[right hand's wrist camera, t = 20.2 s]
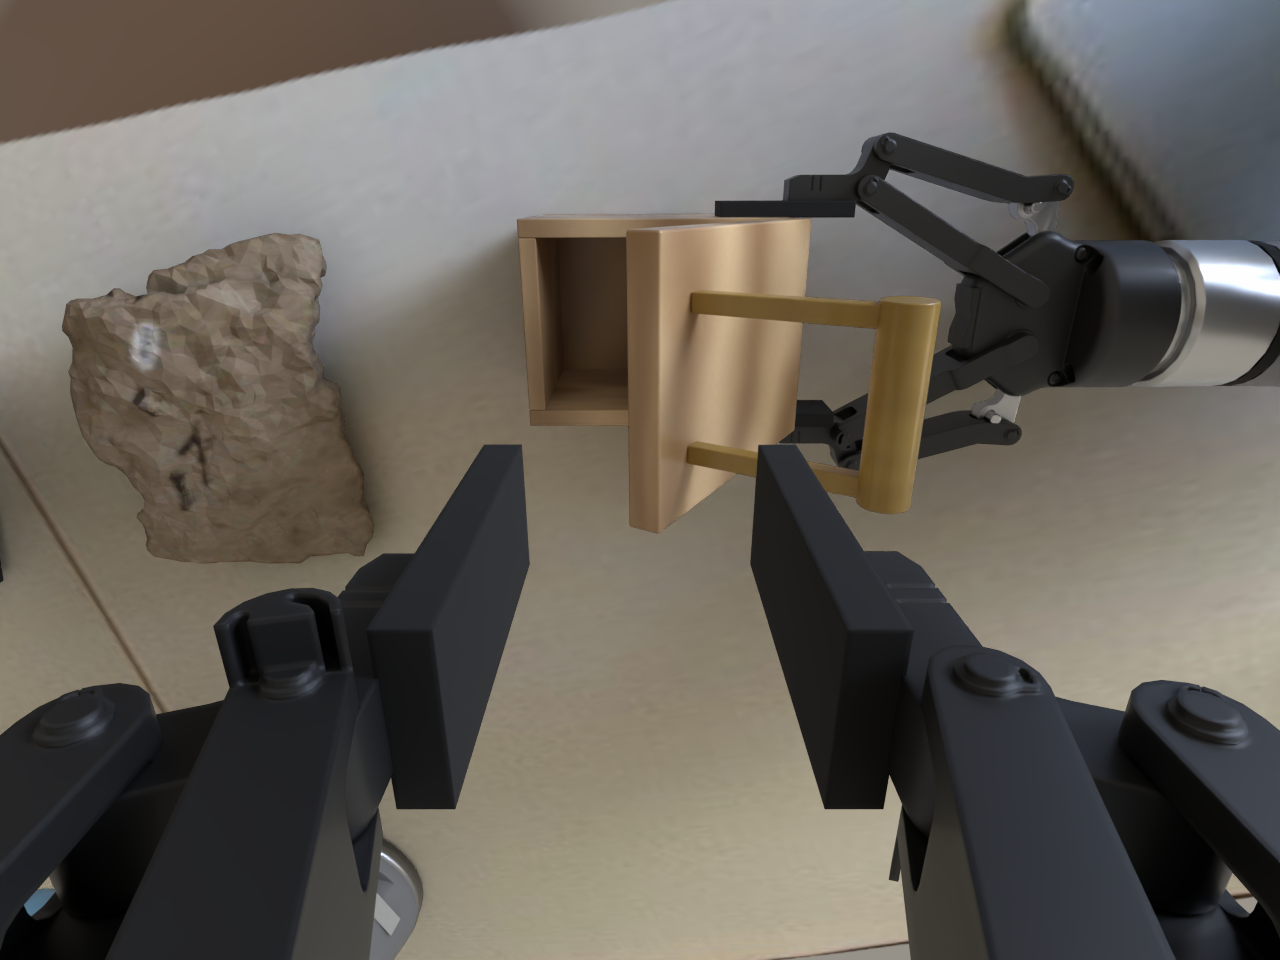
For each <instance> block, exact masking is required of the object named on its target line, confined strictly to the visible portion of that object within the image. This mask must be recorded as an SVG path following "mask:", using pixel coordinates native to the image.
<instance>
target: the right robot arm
mask: <svg viewBox="0 0 1280 960" xmlns="http://www.w3.org/2000/svg"><path fill="white" fill-rule="evenodd" d="M529 564H530V563H529V548H528V533H527V518H526V502H525V487H524V472H523V457H522V445H484V446H483V447H482V449H481V450H480V452H479V454H478V455H477V457H476V458H475V460H474V461H473V463H472V465H471V466H470V468H469V469H468V471H467V472H466V474H465V476H464V477H463V479H462V480H461V482H460V483H459V485H458V487H457V488H456V490H455V491H454V493H453V494H452V496H451V498H450V499H449V501H448V502H447V504H446V505H445V507H444V509H443V510H442V512H441V513H440V515H439V516H438V518H437V520H436V521H435V523H434V524H433V526H432V527H431V529H430V530H429V532H428V534H427V535H426V537H425V538H424V540H423V541H422V543H421V545H420V546H419V548H418V549H417V551H416V552H415V554H382V555H380V556H379V557H377V558H376V559H374V560H373V561H371V562H369V563H368V564H366V565H365V566H363V567H362V568H360V569H359V570H358V571H357V572H356V574H355V575H354V576H353V578H352V579H351V580H350V582H349V583H348V584H347V586H346V587H345V588H346V589H345V591H342V592H341V593H340V595H339V596H338V597H336V596H335V595H333V594H332V593H331V592H328V591H324V590H319V589H315V588H296V589H287V590H282V591H276V592H271V593H267V594H264V595H261V596H259V597H256V598H253V599H251V600H248V601H245V602H243V603H241V604H240V605H238V606H236V607H235V608H233V609H231V610H230V611H228V612H226V613H225V614H224V615H223V616H222V617H221V618H220V619H219V621H218V622H217V623H216V624H215V625H214V626H213V627H214V630H215V634H216V638H217V642H218V646H219V649H220V653H221V657H222V661H223V664H224V668H225V672H226V676H227V679H228V683H229V687H230V688H229V690H228V693H227V695H226V697H225V699H224V700H222V701H218V702H215V703H211V704H206V705H201V706H196V707H191V708H186V709H181V710H176V711H171V712H167V713H162V714H157V715H156V714H155V710H154V707H153V704H152V701H151V698H150V695H149V693H147V692H146V691H145V690H143V689H142V688H141V687H139V686H136V685H129V684H122V683H117V684H108V685H99V686H92V687H87V688H82V690H76V691H73V692H70V693H67V694H64V695H62V696H61V697H59V698H57V699H55V700H53V701H51V702H48V703H46V704H44V705H42V706H40V707H38V708H36V709H35V710H34V711H32V712H31V713H29V714H28V715H26V716H25V717H23V718H22V719H20V720H19V721H17V722H16V723H14V724H13V725H12V726H11V727H10V728H9V729H7V730H6V731H5V732H4V733H3V734H1V735H0V960H394V958H395V957H396V956H397V954H398V953H399V951H400V950H401V948H402V947H403V945H404V944H405V942H406V941H407V939H408V938H409V936H410V934H411V933H412V931H413V929H414V927H415V925H416V921H417V918H418V915H419V912H420V909H421V905H422V900H423V889H422V884H421V880H420V877H419V875H418V873H417V871H416V869H415V868H414V866H413V865H412V863H411V862H410V861H409V860H408V859H407V857H406V856H405V855H404V854H403V853H401V852H400V851H399V850H398V849H397V848H395V847H394V846H393V845H391V844H390V843H388V842H387V841H385V840H383V832H382V826H381V819H380V814H379V809H378V806H379V804H380V801H381V799H382V797H383V794H384V792H385V790H386V787H387V785H388V783H389V781H390V778H391V779H392V785H393V791H394V796H395V802H396V808H397V809H455V808H456V805H457V802H458V798H459V795H460V792H461V789H462V785H463V782H464V779H465V775H466V772H467V769H468V765H469V762H470V759H471V756H472V752H473V749H474V746H475V742H476V739H477V736H478V732H479V729H480V726H481V723H482V719H483V716H484V713H485V709H486V706H487V703H488V700H489V696H490V693H491V690H492V686H493V683H494V680H495V676H496V673H497V670H498V667H499V663H500V660H501V657H502V653H503V650H504V647H505V643H506V640H507V637H508V634H509V630H510V627H511V624H512V620H513V617H514V614H515V611H516V607H517V604H518V601H519V597H520V594H521V591H522V587H523V584H524V581H525V578H526V574H527V571H528V568H529ZM750 564H751V568H752V571H753V574H754V577H755V581H756V584H757V587H758V591H759V594H760V597H761V601H762V604H763V607H764V610H765V614H766V617H767V620H768V624H769V627H770V630H771V634H772V637H773V640H774V643H775V647H776V650H777V653H778V657H779V660H780V663H781V667H782V670H783V673H784V676H785V680H786V683H787V686H788V690H789V693H790V696H791V699H792V703H793V706H794V709H795V713H796V716H797V719H798V723H799V726H800V729H801V732H802V736H803V739H804V742H805V746H806V749H807V752H808V756H809V759H810V762H811V765H812V769H813V772H814V775H815V779H816V782H817V785H818V788H819V792H820V795H821V798H822V802H823V805H824V808H825V809H883V808H884V802H885V797H886V791H887V785H888V779H889V775H890V777H891V779H892V782H893V784H894V786H895V788H896V791H897V793H898V795H899V798H900V800H901V802H902V809H901V814H900V819H899V825H898V830H897V836H896V841H895V847H894V852H893V858H892V863H891V869H890V876H889V880H893V881H897V882H898V880H899V875H900V870H901V875H902V884H903V893H904V902H905V911H906V920H907V929H908V938H909V947H910V956H911V960H1280V731H1279V730H1278V729H1277V728H1276V727H1275V726H1273V725H1272V724H1271V723H1270V722H1269V721H1267V720H1266V719H1265V718H1263V717H1262V716H1260V715H1259V714H1257V713H1256V712H1254V711H1253V710H1251V709H1250V708H1248V707H1247V706H1245V705H1244V704H1242V703H1240V702H1238V701H1235V700H1233V699H1231V698H1229V697H1227V696H1225V695H1222V694H1221V693H1220V692H1218V691H1215V690H1212V689H1209V688H1206V687H1200V686H1199V685H1195V684H1190V683H1183V682H1174V681H1165V680H1158V681H1151V682H1144V683H1141V684H1140V685H1139V686H1138V687H1136V688H1135V689H1134V690H1132V692H1131V695H1130V698H1129V701H1128V704H1127V707H1126V711H1125V712H1124V711H1119V710H1114V709H1109V708H1104V707H1099V706H1094V705H1089V704H1084V703H1079V702H1074V701H1070V700H1066V699H1062V698H1058V697H1055V696H1054V693H1053V691H1052V689H1051V687H1050V686H1049V684H1048V683H1047V682H1046V680H1045V679H1044V678H1043V677H1042V675H1041V674H1040V673H1039V672H1038V671H1036V670H1035V669H1034V668H1032V667H1031V666H1029V665H1028V664H1026V663H1025V662H1024V661H1022V660H1020V659H1018V658H1015V657H1013V656H1011V655H1008V654H1006V653H1004V652H1002V651H999V650H994V649H990V648H986V647H983V646H982V645H981V644H980V643H979V641H978V640H977V639H976V637H975V636H974V635H973V633H972V632H971V631H970V630H969V628H968V627H967V626H966V624H965V623H964V622H963V620H962V619H961V618H960V616H959V615H958V614H957V613H956V611H955V610H954V609H953V607H952V606H951V605H950V603H947V602H946V598H945V597H944V596H943V594H942V593H941V592H940V590H939V589H938V588H935V584H934V583H933V581H932V580H931V579H930V577H929V576H928V575H927V573H926V572H925V571H924V570H923V568H922V567H921V566H919V565H918V564H916V563H915V562H913V561H911V560H910V559H908V558H907V557H905V556H903V555H902V554H900V553H899V552H897V551H863V549H862V548H861V546H860V545H859V543H858V541H857V540H856V538H855V537H854V535H853V534H852V532H851V530H850V529H849V527H848V526H847V524H846V523H845V521H844V519H843V518H842V516H841V515H840V513H839V512H838V510H837V508H836V507H835V505H834V504H833V502H832V501H831V499H830V497H829V496H828V494H827V493H826V491H825V490H824V488H823V487H822V485H821V483H820V482H819V480H818V479H817V477H816V476H815V474H814V472H813V471H812V469H811V468H810V466H809V465H808V463H807V461H806V460H805V458H804V457H803V455H802V454H801V452H800V450H799V449H798V447H797V446H796V445H758V457H757V473H756V488H755V503H754V518H753V533H752V548H751V563H750ZM1232 873H1233V874H1234V875H1235V876H1236V877H1237V878H1238V879H1239V880H1240V882H1241V883H1242V884H1243V885H1244V886H1245V887H1246V888H1247V890H1248V891H1249V892H1250V893H1251V894H1252V895H1253V896H1254V897H1255V899H1256V900H1257V901H1258V902H1257V904H1256V906H1255V909H1254V911H1253V912H1252V913H1251V914H1250V913H1248V912H1247V911H1246V910H1245V909H1244V908H1242V907H1241V906H1240V905H1239V904H1238V903H1237V902H1236V901H1235V899H1234V898H1233V897H1232V896H1231V895H1230V893H1229V892H1228V891H1227V890H1226V887H1227V884H1228V882H1229V880H1230V877H1231V875H1232ZM48 877H50V880H51V882H52V884H53V886H54V889H49V888H44V889H39V890H37V889H38V888H39V887H40V886H41V885H42V883H43V882H44V881H45V880H46V879H47V878H48Z"/></svg>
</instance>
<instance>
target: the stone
mask: <svg viewBox="0 0 1280 960" xmlns="http://www.w3.org/2000/svg"><path fill="white" fill-rule="evenodd" d="M326 267H327V266H326V262H325V259H324V257H323V255H322V248H321V245H320V242H319V240H318V239H314V238H311V237H308V236H304V235H301V234H295V235H285V234H279V233H274V234H268V235H264V236H260V237H256V238H252V239H248V240H244V241H239V242H236V243H233V244H230V245H228V246H226V247H225V248H223V249H221V250H207V251H206V252H204V253H203V254H200V255H196V256H192V257H191V258H190V259H189V260H187V261H186V262H185V263H182V264H179V265H176V266H174V267H171V268H169V269H162V270H154V271H153V272H152V273H151V274H150V275H149V277H148V282H147V287H146V289H147V292H148V293H147V295H141V296H133V295H130V294H128V293H125V292H124V291H122V290H121V289H113V290H112V291H111V292H110V293H108V294H107V295H105V296H101V297H98V298H94V299H76V300H71V301H70V302H68V303H67V304H66V310H65V315H64V320H63V325H62V331H63V332H64V333H65V334H66V335H67V336H68V337H69V339H70V342H71V344H72V347H73V361H72V365H71V367H70V370H69V374H70V377H71V388H70V392H71V397H72V402H73V406H74V410H75V414H76V417H77V421H78V424H79V427H80V430H81V432H82V435H83V437H84V439H85V440H86V441H87V443H88V445H89V446H90V448H91V449H92V451H93V452H94V454H95V455H96V456H97V457H98V458H99V459H100V460H101V461H103V462H104V463H106V464H108V465H112V466H115V467H117V468H118V469H119V470H121V471H122V472H123V473H124V474H125V475H126V476H127V477H128V479H129V480H130V482H131V483H132V485H133V486H134V487H135V488H136V489H137V491H138V492H140V493H141V495H142V496H143V498H144V500H145V505H144V508H143V509H142V510H141V511H140V512H139V513H138V514H137V518H138V520H139V521H140V522H141V523H142V524H143V526H144V528H145V533H146V536H147V543H146V546H147V550H148V551H149V552H150V553H151V554H152V555H153V556H155V557H160V558H166V559H172V560H177V561H181V562H196V563H216V562H241V561H252V562H261V563H301V562H303V561H304V560H306V559H307V558H309V557H310V556H320V555H331V554H336V553H350V554H352V555H354V556H364V553H365V549H366V545H367V543H368V542H369V541H370V540H371V539H372V537H373V533H374V532H373V528H374V524H373V521H372V519H371V516H370V512H369V510H368V507H367V505H366V503H365V502H364V500H363V499H362V495H363V493H364V488H363V476H364V474H363V471H362V469H361V467H360V465H359V463H358V462H357V461H356V459H355V458H354V454H353V451H352V450H351V448H350V447H349V444H348V442H347V440H346V439H345V436H344V428H345V422H344V419H343V417H342V414H341V393H340V389H339V386H338V385H337V384H336V383H333V382H330V381H328V380H325V379H324V378H323V371H324V368H323V365H322V363H321V361H320V360H319V356H318V355H317V354H316V353H315V351H314V349H313V345H312V341H313V338H314V336H315V331H314V328H315V326H316V324H317V323H318V322H319V315H320V305H319V302H318V296H319V295H320V292H321V288H322V282H321V279H320V278H321V277H323V276H325V273H326Z"/></svg>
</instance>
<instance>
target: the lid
mask: <svg viewBox="0 0 1280 960" xmlns="http://www.w3.org/2000/svg"><path fill="white" fill-rule="evenodd" d="M810 231H811V219H810V218H783V219H769V220H755V221H740V222H726V223H711V224H697V225H683V226H668V227H654V228H640V229H629V230H627V232H626V248H627V338H628V428H629V518H630V526H631V527H634V528H638V529H642V530H646V531H649V532H653V533H660V532H661V531H663V530H664V529H665V528H667V527H668V526H669V525H671V524H672V523H673V522H674V521H676V520H677V519H678V518H680V517H681V516H682V515H684V514H685V513H686V512H688V511H689V510H690V509H692V508H693V507H694V506H695V505H697V504H698V503H699V502H701V501H702V500H703V499H705V498H706V497H707V496H709V495H710V494H711V493H713V492H714V491H715V490H716V489H718V488H719V487H720V486H722V485H723V484H724V483H726V482H727V481H728V480H730V479H731V478H732V477H734V476H735V475H736V474H742V475H747V476H752V477H756V473H757V457H758V445H776V444H777V443H778V442H779V441H781V440H782V439H783V438H785V437H786V436H787V435H789V434H790V433H791V432H793V431H794V428H795V416H796V403H797V391H798V379H799V366H800V354H801V342H802V329H803V323H811V324H823V325H835V326H847V327H859V328H871V329H876V335H875V343H874V352H873V360H872V368H871V377H870V385H869V393H868V402H867V410H866V418H865V427H864V435H863V443H862V451H861V460H860V468H859V471H857V470H852V469H846V468H841V467H835V466H830V465H825V464H819V463H814V462H808V461H807V463H808V465H809V466H810V468H811V469H812V471H813V472H814V474H815V476H816V477H817V479H818V480H819V482H820V483H821V485H822V487H823V488H824V490H825V491H826V492H831V493H836V494H841V495H846V496H851V497H856V502H857V504H858V505H859V506H860V507H862V508H864V509H866V510H869V511H872V512H876V513H882V514H899V513H903V512H906V511H907V510H909V508H910V506H911V499H912V492H913V486H914V479H915V473H916V466H917V460H918V453H919V447H920V440H921V433H922V427H923V420H924V414H925V407H926V401H927V394H928V388H929V381H930V375H931V368H932V361H933V355H934V348H935V342H936V335H937V329H938V322H939V316H940V309H941V301H940V300H938V299H934V298H927V297H917V296H890V297H884V298H881V299H880V302H877V301H862V300H847V299H832V298H816V297H805V293H806V280H807V268H808V256H809V243H810Z"/></svg>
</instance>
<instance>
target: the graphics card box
mask: <svg viewBox="0 0 1280 960" xmlns="http://www.w3.org/2000/svg"><path fill="white" fill-rule="evenodd" d="M2 574H3V573H2V568H1V561H0V582H2V581H3V575H2Z"/></svg>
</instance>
